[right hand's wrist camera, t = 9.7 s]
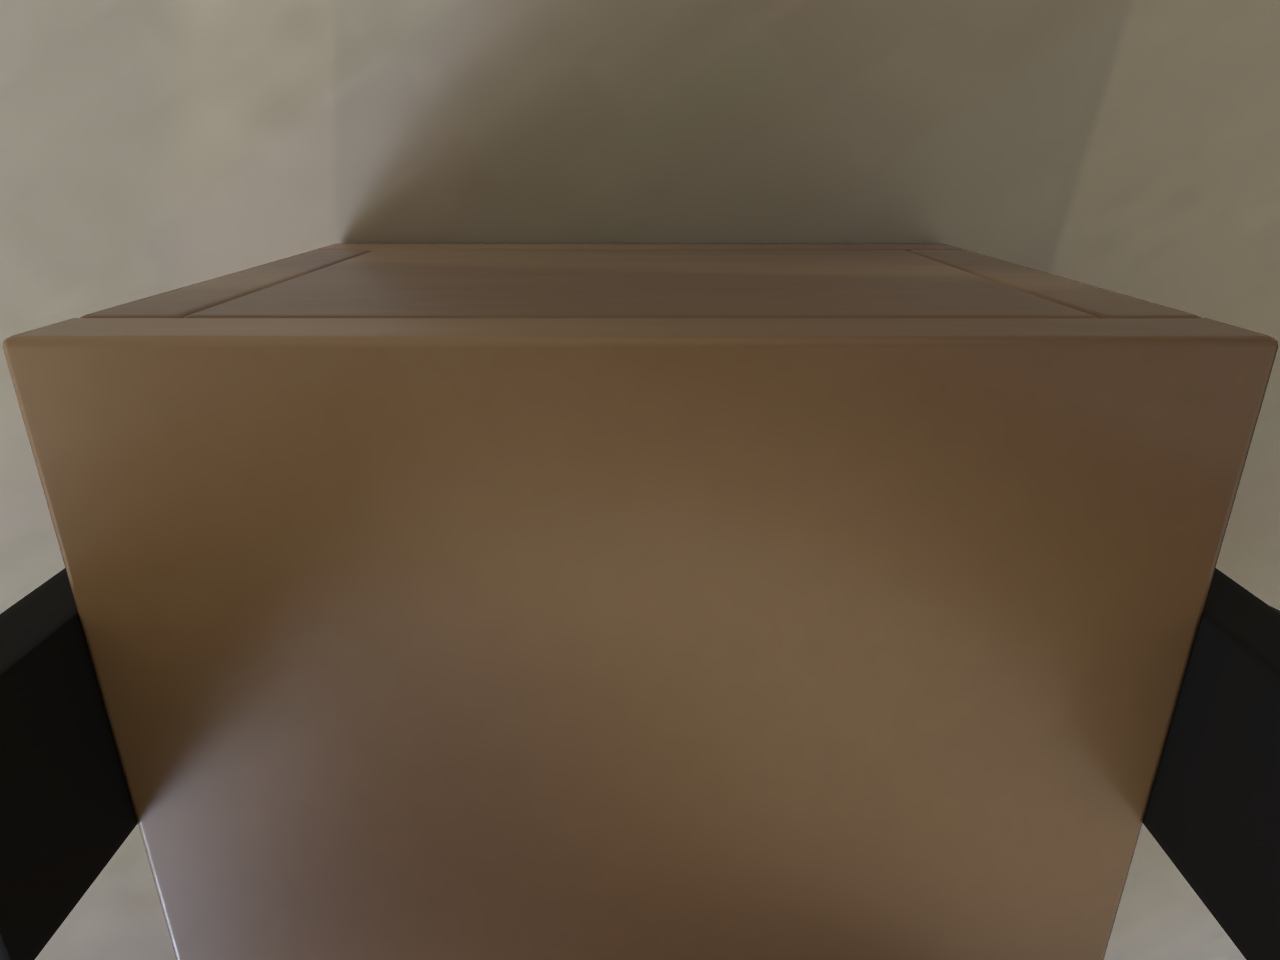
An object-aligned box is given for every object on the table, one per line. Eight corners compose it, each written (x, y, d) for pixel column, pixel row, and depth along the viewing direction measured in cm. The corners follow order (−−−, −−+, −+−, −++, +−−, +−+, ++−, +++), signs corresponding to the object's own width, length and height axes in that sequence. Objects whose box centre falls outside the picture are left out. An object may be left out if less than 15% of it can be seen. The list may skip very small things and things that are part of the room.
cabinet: (857, 915, 21) (989, 1370, 13) (421, 916, 21) (291, 1371, 13) (945, 243, 15) (1286, 338, 7) (333, 243, 15) (-6, 337, 7)
